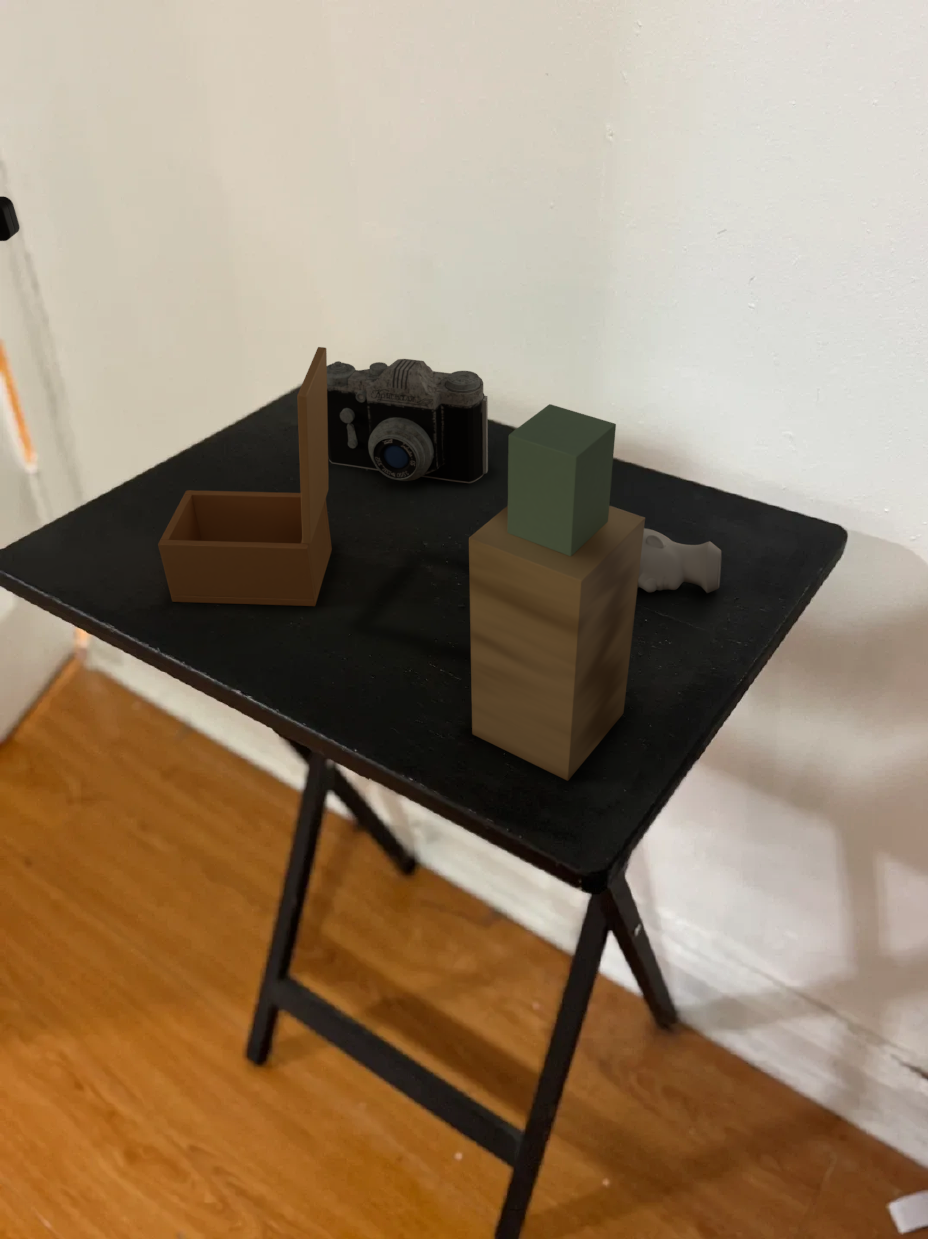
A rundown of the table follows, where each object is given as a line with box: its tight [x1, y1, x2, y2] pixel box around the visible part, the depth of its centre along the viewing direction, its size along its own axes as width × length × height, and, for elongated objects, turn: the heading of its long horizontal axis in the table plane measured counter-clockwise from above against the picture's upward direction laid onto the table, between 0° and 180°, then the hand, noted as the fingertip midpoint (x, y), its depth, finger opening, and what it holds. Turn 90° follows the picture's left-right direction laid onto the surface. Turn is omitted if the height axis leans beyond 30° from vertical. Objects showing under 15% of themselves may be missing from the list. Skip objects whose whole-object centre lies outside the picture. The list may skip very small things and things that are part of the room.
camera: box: [327, 358, 489, 484], centre depth 86 cm, size 15×7×10 cm, turn 73°
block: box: [507, 403, 617, 556], centre depth 54 cm, size 4×4×6 cm
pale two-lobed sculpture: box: [637, 527, 722, 594], centre depth 75 cm, size 4×8×5 cm
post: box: [468, 505, 646, 782], centre depth 61 cm, size 7×7×15 cm
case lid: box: [296, 346, 329, 544], centre depth 71 cm, size 11×7×1 cm
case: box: [157, 489, 333, 607], centre depth 77 cm, size 11×7×5 cm
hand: (11, 218), depth 62 cm, fingers closed
